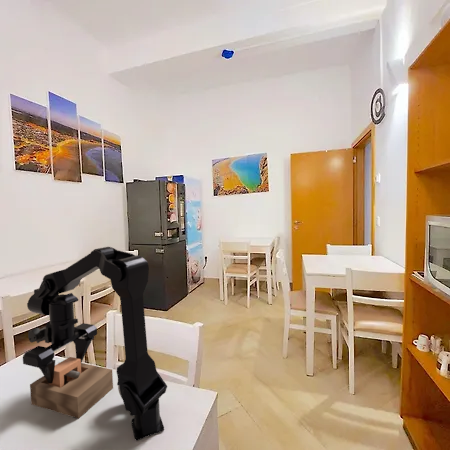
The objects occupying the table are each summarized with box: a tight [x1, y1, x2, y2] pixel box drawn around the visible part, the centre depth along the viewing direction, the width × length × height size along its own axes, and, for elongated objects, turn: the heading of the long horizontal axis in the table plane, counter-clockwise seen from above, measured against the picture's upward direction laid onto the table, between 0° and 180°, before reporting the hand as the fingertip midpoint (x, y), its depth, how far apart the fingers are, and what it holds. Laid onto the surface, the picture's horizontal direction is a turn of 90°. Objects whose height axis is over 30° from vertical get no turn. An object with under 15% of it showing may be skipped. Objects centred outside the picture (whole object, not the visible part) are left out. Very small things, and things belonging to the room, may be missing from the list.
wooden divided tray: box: [29, 362, 114, 420], centre depth 77 cm, size 16×12×7 cm
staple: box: [49, 356, 81, 388], centre depth 78 cm, size 7×4×6 cm, turn 161°
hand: (65, 372), depth 78 cm, fingers open, 9 cm apart
